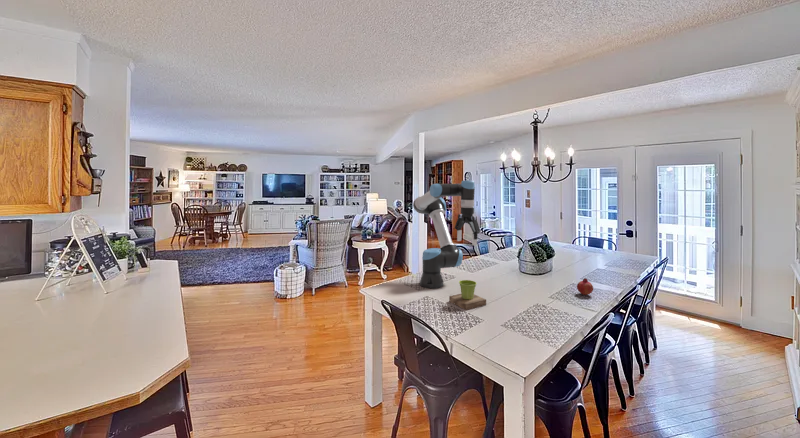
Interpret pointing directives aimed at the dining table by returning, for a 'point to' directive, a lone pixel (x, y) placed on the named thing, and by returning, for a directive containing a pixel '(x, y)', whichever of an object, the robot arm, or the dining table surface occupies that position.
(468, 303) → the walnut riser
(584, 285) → the fruit
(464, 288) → the plant pot
